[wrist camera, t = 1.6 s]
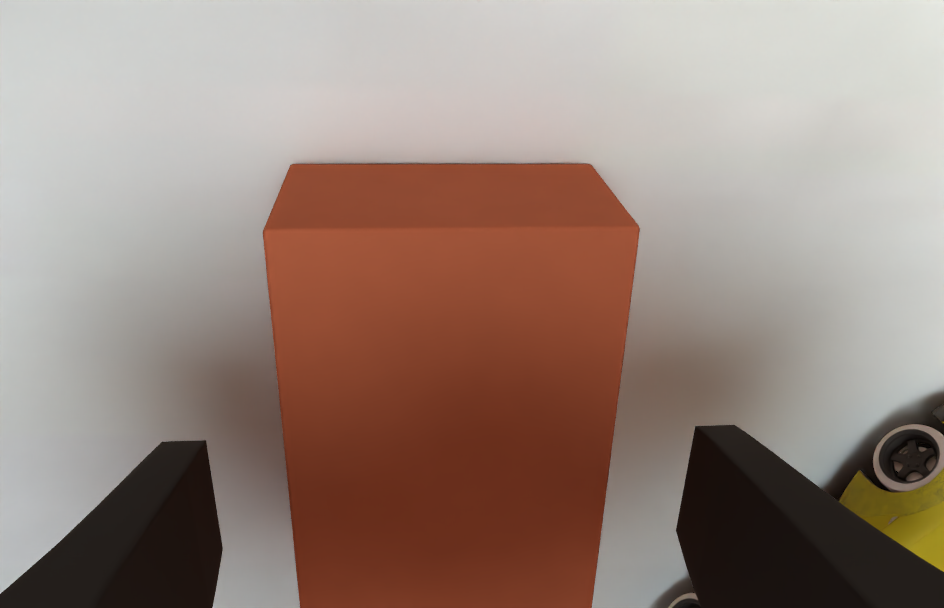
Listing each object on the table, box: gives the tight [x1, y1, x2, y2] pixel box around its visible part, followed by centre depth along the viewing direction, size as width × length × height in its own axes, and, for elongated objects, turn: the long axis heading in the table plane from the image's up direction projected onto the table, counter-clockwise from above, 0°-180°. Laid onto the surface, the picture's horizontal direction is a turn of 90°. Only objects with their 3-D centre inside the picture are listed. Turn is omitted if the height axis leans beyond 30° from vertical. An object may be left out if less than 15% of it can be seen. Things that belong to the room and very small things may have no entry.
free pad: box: [263, 164, 640, 608], centre depth 13 cm, size 5×8×3 cm, turn 179°
